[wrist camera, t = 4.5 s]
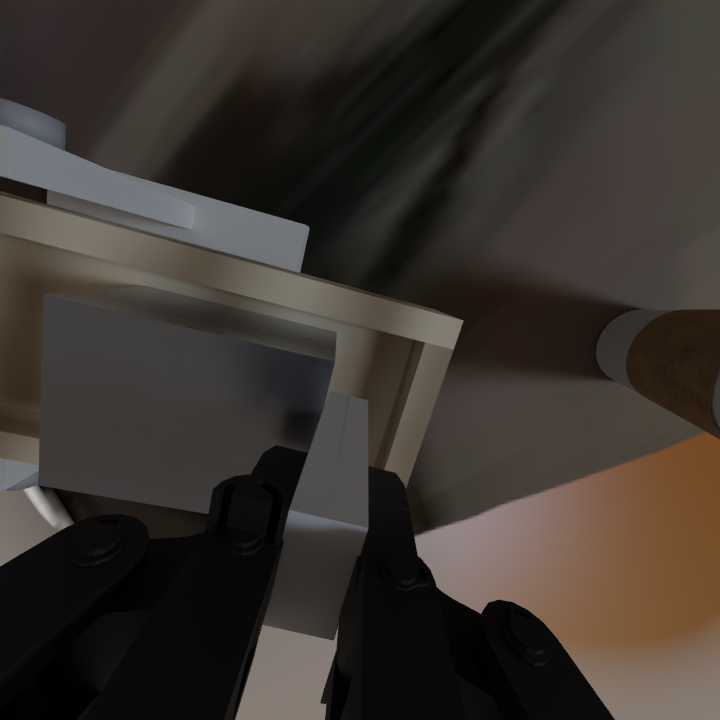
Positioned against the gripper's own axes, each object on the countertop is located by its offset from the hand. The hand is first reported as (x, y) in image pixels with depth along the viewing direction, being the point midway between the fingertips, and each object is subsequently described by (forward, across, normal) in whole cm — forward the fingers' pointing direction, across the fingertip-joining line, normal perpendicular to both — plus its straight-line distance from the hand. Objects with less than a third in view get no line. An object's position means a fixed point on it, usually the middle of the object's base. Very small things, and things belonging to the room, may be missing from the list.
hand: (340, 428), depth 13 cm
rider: (+3, -5, 0) cm, 6 cm away
